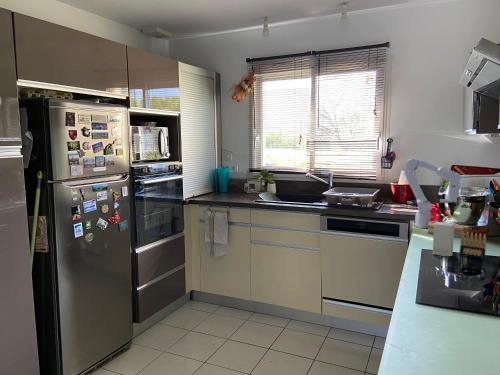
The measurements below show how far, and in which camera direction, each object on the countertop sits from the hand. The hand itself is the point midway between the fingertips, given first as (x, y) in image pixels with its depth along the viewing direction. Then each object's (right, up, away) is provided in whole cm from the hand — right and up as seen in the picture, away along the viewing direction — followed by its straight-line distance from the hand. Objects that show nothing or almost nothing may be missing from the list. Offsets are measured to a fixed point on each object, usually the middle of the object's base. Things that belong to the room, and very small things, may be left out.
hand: (452, 215), depth 240 cm
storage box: (-7, -10, -5) cm, 13 cm away
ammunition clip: (-17, -16, -52) cm, 57 cm away
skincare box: (-30, -16, -50) cm, 60 cm away
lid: (-7, -6, -6) cm, 11 cm away
